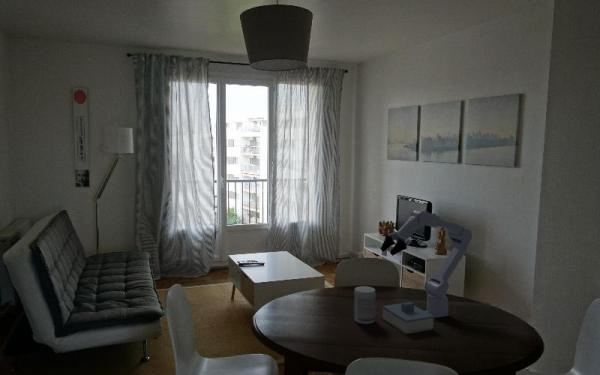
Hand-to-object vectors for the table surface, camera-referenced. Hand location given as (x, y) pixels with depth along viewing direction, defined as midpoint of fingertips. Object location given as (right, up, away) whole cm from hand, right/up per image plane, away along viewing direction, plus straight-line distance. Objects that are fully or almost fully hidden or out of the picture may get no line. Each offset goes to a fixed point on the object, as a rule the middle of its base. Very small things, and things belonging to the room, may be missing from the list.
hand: (386, 252), depth 200 cm
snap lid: (+10, -27, +1) cm, 29 cm away
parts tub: (+10, -32, +2) cm, 34 cm away
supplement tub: (-9, -32, +5) cm, 34 cm away
